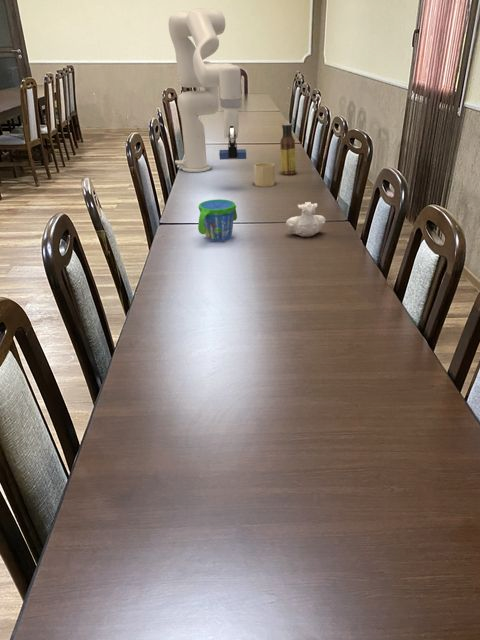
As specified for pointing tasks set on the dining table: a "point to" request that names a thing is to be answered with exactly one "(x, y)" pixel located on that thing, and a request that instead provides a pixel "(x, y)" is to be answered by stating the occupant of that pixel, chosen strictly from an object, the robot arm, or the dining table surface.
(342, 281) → the dining table surface
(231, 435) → the dining table surface
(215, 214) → the snack cup
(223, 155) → the block
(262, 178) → the beige cup
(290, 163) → the sauce bottle
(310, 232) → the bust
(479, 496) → the dining table surface
